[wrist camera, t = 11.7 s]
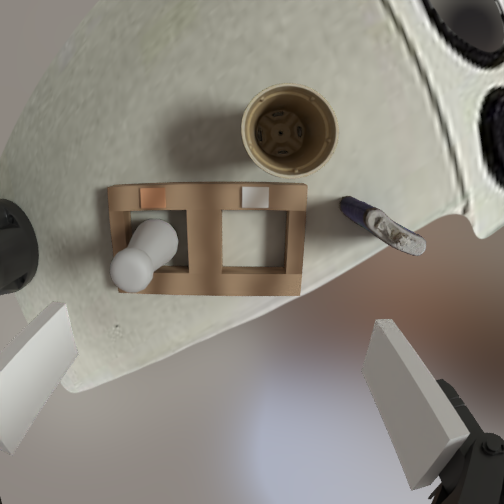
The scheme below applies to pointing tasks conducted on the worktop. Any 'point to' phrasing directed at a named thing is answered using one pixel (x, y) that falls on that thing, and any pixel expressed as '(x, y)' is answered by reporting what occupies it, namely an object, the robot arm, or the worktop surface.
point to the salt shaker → (144, 255)
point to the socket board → (215, 234)
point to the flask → (382, 226)
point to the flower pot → (290, 130)
